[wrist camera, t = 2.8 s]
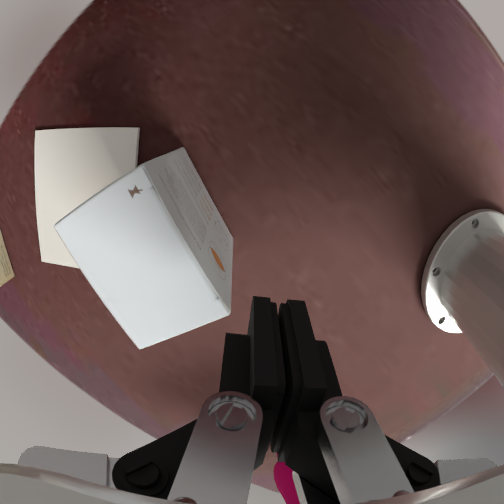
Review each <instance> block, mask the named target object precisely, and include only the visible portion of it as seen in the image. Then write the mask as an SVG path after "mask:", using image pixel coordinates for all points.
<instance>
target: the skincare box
mask: <svg viewBox="0 0 504 504" xmlns="http://www.w3.org/2000/svg"><path fill="white" fill-rule="evenodd" d="M13 277H14V272H13V269H12V266H11V263H10V260H9V257H8V254H7V251H6V247H5V244H4V240H3V237H2V233H1V229H0V287H1V286H2V285H3V284H4V283H6V282H7V281H9V280H10V279H11V278H13Z"/></svg>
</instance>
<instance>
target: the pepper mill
mask: <svg viewBox="0 0 504 504" xmlns="http://www.w3.org/2000/svg"><path fill="white" fill-rule="evenodd" d="M277 457H278V452H277ZM273 472H274V480H275V482H276V485H277V488H278V490H279V491H280V493H281V494H282V496H283V498H284V500H285V502H286V504H300V502H299V498H298V495H297V491H296V488H295V484H294V480H293V474H292V472H293V470H292V469H290V468H289V467H288V466H286V465H285V462H277V463H276V464H275V466H274V471H273Z"/></svg>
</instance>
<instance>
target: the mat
mask: <svg viewBox="0 0 504 504" xmlns="http://www.w3.org/2000/svg"><path fill="white" fill-rule="evenodd" d="M139 133H140V128H129V127H102V128H68V129H50V130H37V131H35V198H36V213H37V226H38V236H39V244H40V252H41V260H42V262H47V263H53V264H58V265H64V266H70V267H76V268H79V267H78V265H77V263H76V262H75V260H74V259H73V257H72V256H71V254H70V253H69V251H68V249H67V248H66V246H65V245H64V243H63V241H62V240H61V238H60V236H59V235H58V233H57V231H56V230H55V228H54V225H55V224H56V223H57V222H58V221H59V220H60V219H62V218H63V217H64V216H66V215H67V214H68V213H70V212H71V211H72V210H74V209H75V208H76V207H78V206H79V205H80V204H82V203H83V202H85V201H86V200H87V199H89V198H90V197H92V196H93V195H94V194H96V193H97V192H99V191H100V190H102V189H103V188H105V187H106V186H107V185H109V184H111V183H112V182H114V181H115V180H117V179H118V178H120V177H122V176H123V175H125V174H126V173H128V172H130V171H131V170H133V169H135V168H136V167H137V162H138V146H139Z"/></svg>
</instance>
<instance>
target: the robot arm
mask: <svg viewBox="0 0 504 504" xmlns="http://www.w3.org/2000/svg"><path fill="white" fill-rule="evenodd" d="M421 297H422V304H423V307H424V309H425V312H426V314H427V315H428V317H429V318H430V320H431V321H432V322H433V323H434V325H435V326H436V327H438V328H439V329H441V330H443V331H446V332H450V333H463V334H464V335H465V337H466V338H467V339H468V340H469V342H470V343H471V344H472V345H473V347H474V348H475V349H476V351H477V352H478V353H479V355H480V356H481V357H482V358H483V360H484V361H485V362H486V364H487V365H488V366H489V368H490V369H491V371H492V372H493V373H494V375H495V376H496V377H497V379H498V380H499V382H500V383H501V384H502V386H503V387H504V214H502V213H500V212H498V211H495V210H492V209H478V210H474V211H471V212H469V213H467V214H465V215H463V216H461V217H460V218H458V219H457V220H456V221H455V222H453V223H452V224H451V225H450V226H449V227H448V228H447V229H446V230H445V232H444V233H443V234H442V235H441V237H440V238H439V240H438V241H437V242H436V244H435V246H434V247H433V249H432V251H431V253H430V255H429V257H428V260H427V263H426V266H425V269H424V273H423V278H422V283H421ZM270 441H271V451H272V452H278V462H285V465H286V466H288V467H289V468H290V469H292V470H293V472H292V474H293V480H294V484H295V488H296V491H297V495H298V498H299V502H300V504H504V464H503V465H500V466H497V465H496V464H495V463H494V462H493V461H491V460H490V459H486V458H477V459H458V460H437V461H436V462H435V463H432V462H431V461H430V460H429V459H427V458H426V457H424V456H422V455H420V454H418V453H416V452H415V451H412V450H411V449H409V448H407V447H405V446H404V445H402V444H400V443H398V442H396V441H395V440H393V439H391V438H389V437H388V436H386V435H384V433H383V431H382V430H381V428H380V426H379V424H378V422H377V420H376V418H375V417H374V415H373V413H372V411H371V410H370V409H369V407H368V406H367V405H366V404H364V403H363V402H362V401H360V400H358V399H356V398H353V397H348V396H342V393H341V389H340V386H339V382H338V379H337V376H336V372H335V369H334V366H333V362H332V359H331V356H330V352H329V349H328V346H327V343H326V342H325V341H318V340H315V337H314V333H313V330H312V326H311V322H310V319H309V315H308V311H307V308H306V304H305V301H299V300H287V302H286V304H284V303H281V304H280V307H279V312H278V313H277V305H276V303H273V302H271V301H270V298H267V297H257V296H253V299H252V306H251V313H250V320H249V327H248V334H247V335H242V334H232V333H226V337H225V346H224V354H223V363H222V372H221V381H220V390H219V393H216V394H214V395H212V396H210V397H209V398H208V399H206V401H205V402H204V404H203V406H202V408H201V411H200V413H199V416H198V419H196V420H194V421H192V422H191V423H189V424H187V425H185V426H183V427H181V428H179V429H177V430H175V431H173V432H171V433H169V434H167V435H165V436H163V437H161V438H159V439H157V440H155V441H153V442H151V443H149V444H147V445H145V446H143V447H141V448H138V449H136V450H134V451H132V452H130V453H127V454H126V455H124V456H122V457H121V458H109V457H108V455H107V454H97V453H87V452H77V451H69V450H62V449H55V448H49V447H41V446H34V447H31V448H29V449H27V450H25V452H23V453H22V454H21V456H20V459H19V461H18V464H4V463H0V504H247V499H248V494H249V489H250V484H251V479H252V474H253V471H254V470H255V469H256V468H258V467H259V466H260V465H262V464H263V460H264V457H265V454H266V452H267V450H268V447H269V444H270Z"/></svg>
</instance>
